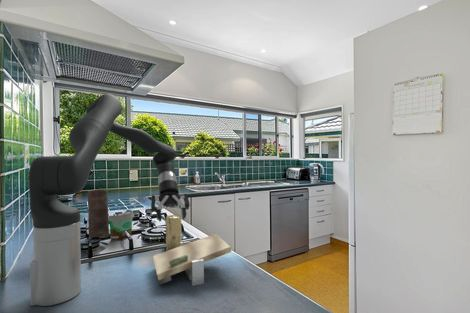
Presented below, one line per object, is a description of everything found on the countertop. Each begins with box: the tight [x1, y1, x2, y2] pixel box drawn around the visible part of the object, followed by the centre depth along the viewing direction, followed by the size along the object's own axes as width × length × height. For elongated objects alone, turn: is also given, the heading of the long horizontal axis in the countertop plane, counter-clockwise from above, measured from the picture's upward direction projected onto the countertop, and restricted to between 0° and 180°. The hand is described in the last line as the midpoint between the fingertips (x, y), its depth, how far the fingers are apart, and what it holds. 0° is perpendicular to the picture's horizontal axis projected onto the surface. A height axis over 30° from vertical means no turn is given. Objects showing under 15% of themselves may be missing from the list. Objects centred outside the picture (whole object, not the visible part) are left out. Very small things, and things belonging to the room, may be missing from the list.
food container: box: [108, 209, 135, 241], centre depth 105 cm, size 12×6×10 cm, turn 168°
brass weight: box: [165, 214, 182, 251], centre depth 89 cm, size 5×5×12 cm
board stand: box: [180, 240, 205, 287], centre depth 73 cm, size 3×17×6 cm, turn 22°
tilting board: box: [152, 233, 232, 286], centre depth 73 cm, size 20×13×4 cm, turn 112°
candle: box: [87, 188, 110, 239], centre depth 105 cm, size 8×7×20 cm
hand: (172, 219), depth 95 cm, fingers open, 8 cm apart
